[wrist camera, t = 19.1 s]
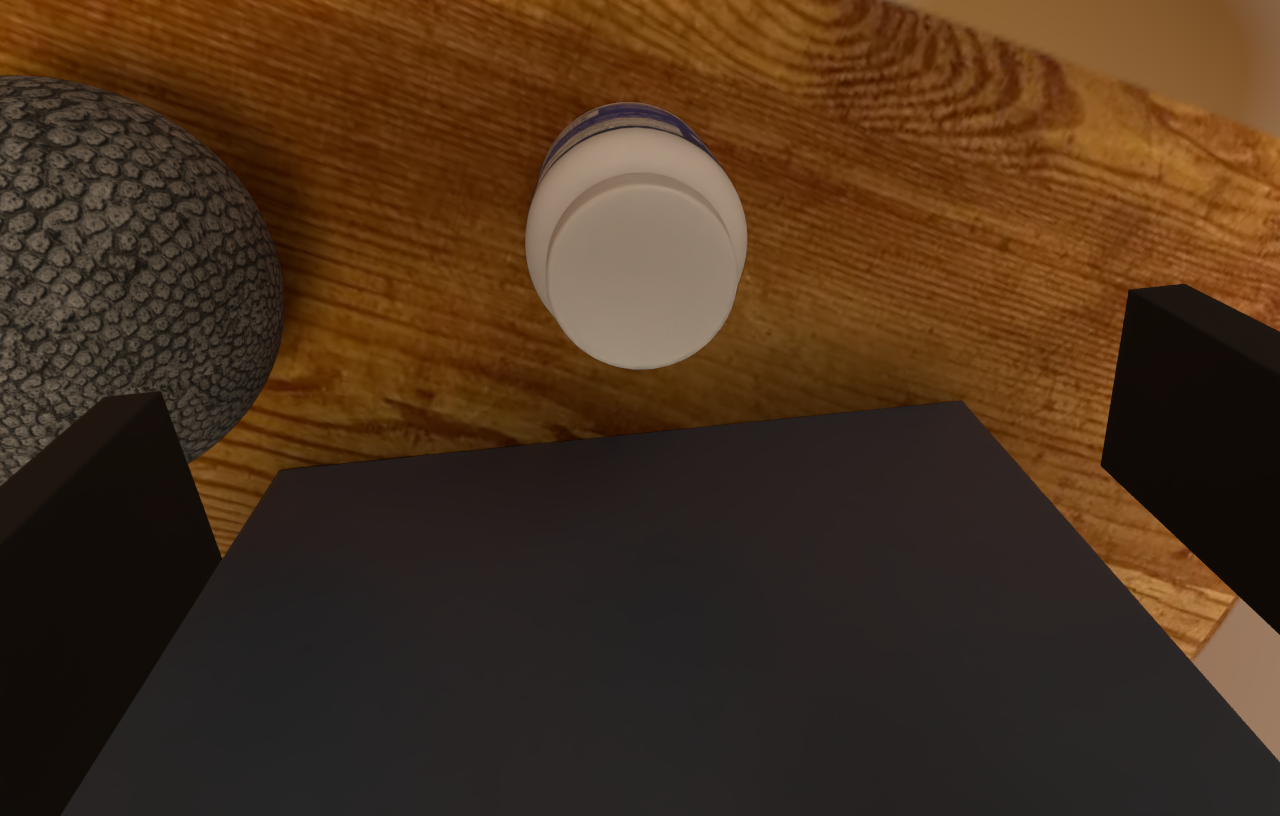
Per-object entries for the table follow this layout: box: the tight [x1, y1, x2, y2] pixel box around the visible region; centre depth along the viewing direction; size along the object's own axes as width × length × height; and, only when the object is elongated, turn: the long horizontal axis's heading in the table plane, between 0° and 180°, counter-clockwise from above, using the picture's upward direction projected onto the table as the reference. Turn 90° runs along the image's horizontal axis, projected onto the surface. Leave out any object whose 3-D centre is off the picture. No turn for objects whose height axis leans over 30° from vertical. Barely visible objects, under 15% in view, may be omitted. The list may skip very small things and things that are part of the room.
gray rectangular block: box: [61, 401, 1280, 816], centre depth 23 cm, size 25×14×20 cm, turn 95°
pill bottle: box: [525, 102, 747, 370], centre depth 22 cm, size 5×5×9 cm
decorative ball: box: [0, 75, 285, 486], centre depth 21 cm, size 10×10×10 cm
